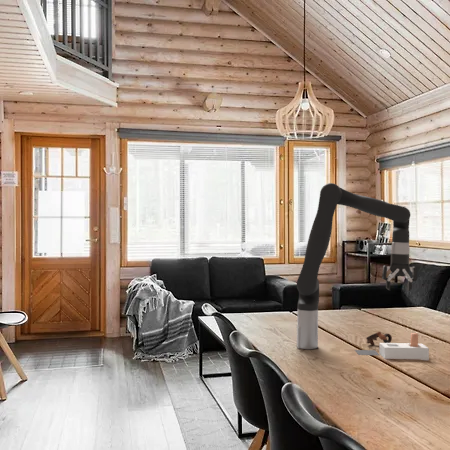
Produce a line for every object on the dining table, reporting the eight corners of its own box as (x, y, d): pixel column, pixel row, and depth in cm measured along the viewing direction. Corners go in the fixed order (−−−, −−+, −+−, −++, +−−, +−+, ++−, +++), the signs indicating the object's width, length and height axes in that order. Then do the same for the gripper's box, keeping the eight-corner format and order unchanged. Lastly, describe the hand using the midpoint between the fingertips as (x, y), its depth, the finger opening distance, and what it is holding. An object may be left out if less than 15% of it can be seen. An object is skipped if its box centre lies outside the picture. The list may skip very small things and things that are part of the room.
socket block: (384, 359, 225) (384, 347, 225) (379, 354, 234) (379, 342, 234) (428, 360, 225) (428, 348, 225) (421, 355, 234) (421, 343, 234)
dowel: (411, 358, 228) (411, 334, 228) (409, 356, 231) (409, 333, 231) (418, 358, 228) (419, 334, 228) (416, 356, 231) (416, 333, 231)
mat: (358, 355, 232) (358, 354, 232) (354, 350, 241) (354, 349, 241) (379, 356, 231) (379, 355, 231) (374, 351, 240) (374, 350, 240)
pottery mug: (379, 352, 241) (370, 335, 244) (369, 357, 249) (360, 340, 252) (400, 343, 246) (391, 326, 248) (388, 348, 254) (380, 331, 257)
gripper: (385, 252, 232) (384, 290, 232) (419, 254, 231) (418, 292, 232) (381, 251, 240) (380, 288, 240) (414, 253, 239) (413, 289, 239)
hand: (398, 290), depth 236 cm, fingers open, 8 cm apart
